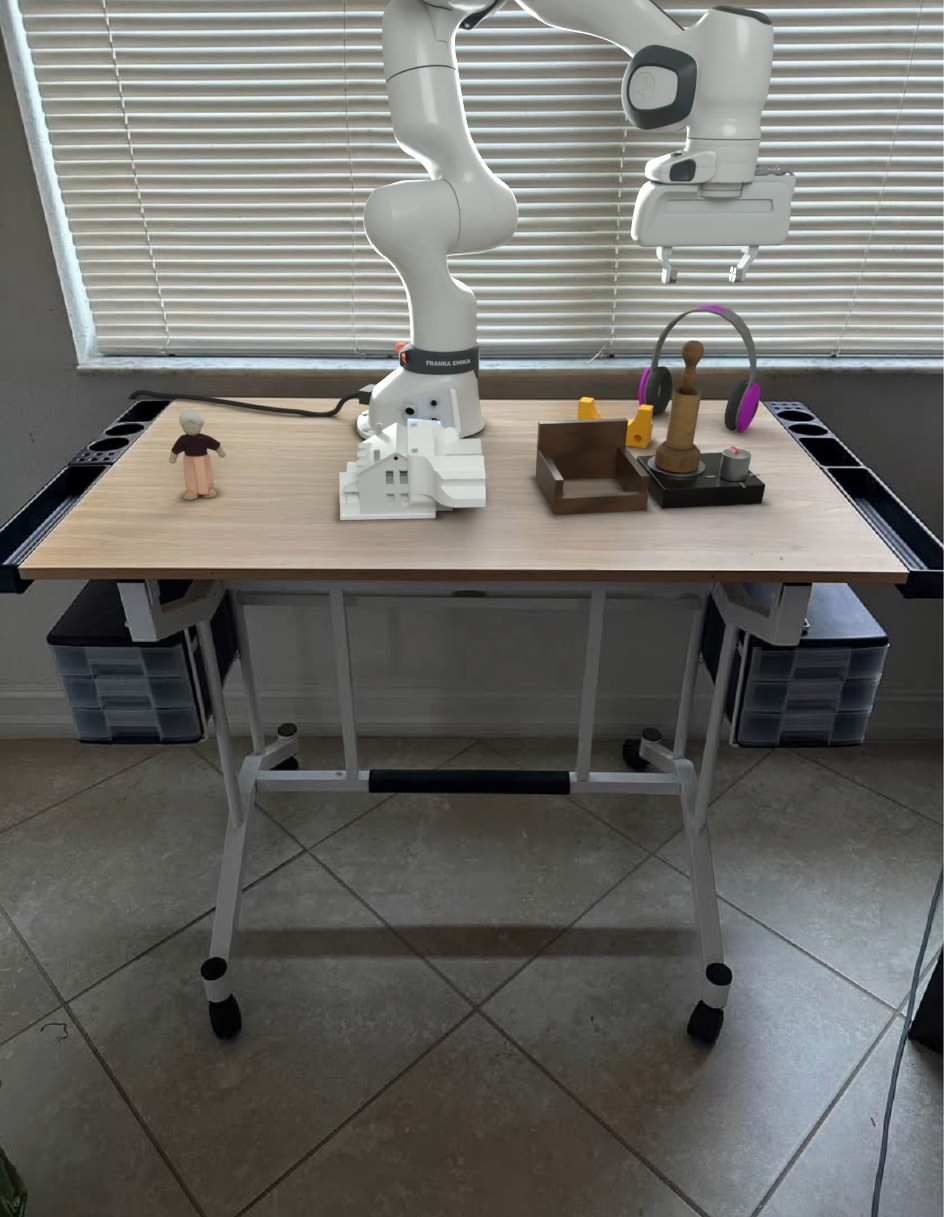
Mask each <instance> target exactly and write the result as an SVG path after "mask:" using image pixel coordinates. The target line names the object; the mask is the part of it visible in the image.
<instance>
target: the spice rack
mask: <svg viewBox="0 0 944 1217" xmlns="http://www.w3.org/2000/svg"><path fill="white" fill-rule="evenodd" d="M628 421H629V419H627V418H626V417H622V418H602V419H590V420H577V419H568V420H567V419H566V420H538V422H537V442H536V443H537V444H536V460H535V461H536V462H535V480H536V481H537V484H538V485H539V487H540V489H541V491H542V493H543V495H544V497H545V499H546V501H547V503H548V505H549V507H550V509H551V511H552V513H553V515H554V516H561V515H562V516H563V515H580V514H581V515H582V514H583V515H584V514H599V513H600V514H601V513H602V514H603V513H619V512H620V513H623V512H641V511H642V512H643V511H648V503H649V494H650V493H649V492H648V483H649V475H648V474H647V473H646V471H645V470H644V469H643V468H642V466H641V465H640V464H639V463H638V461H637V458H636V457H635V456H634V455H633V454H632V453H631V451H630V450H629V448H627V445H626V437H627V428H628ZM609 478H611V479H613V478H615V480H616V481H617V482H618V484H619V486H621V488H622V489H623V491H615V492H596V493H595V492H594V493H593V492H592V493H574V494H564V483H565V480H567V481H569V480H585V479H586V480H587V479H609Z"/></svg>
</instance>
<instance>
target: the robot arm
mask: <svg viewBox="0 0 944 1217" xmlns="http://www.w3.org/2000/svg"><path fill="white" fill-rule="evenodd" d="M514 1H515V2H516V3H517V4H518V5H519V6H520V7H521V8H522V9H523V10H524V11H526V12H527V13H528V14H529V15H531V16H532V17H534V18H536V19H537V20H538V21H540V22H542V23H543V24H545V25H547V26H550V27H553V28H555V29H559V30H566V31H570V32H575V33H581V34H585V35H590V36H593V37H597V38H600V39H603V40H606V41H608V42H610V43H612V44H614V45H616V46H617V47H619V48H620V49H622V50H623V51H624V52H626V53H627V54H628V56H630V57H631V60H630V61H629V63H628V64H627V66H626V69H625V71H624V74H623V78H622V80H621V81H622V82H621V83H622V84H621V89H620V94H621V95H620V96H621V104H622V109H623V112H624V114H625V116H626V118H627V119H628V122H630V124H632V126H634V127H635V128H637V129H640V130H642V131H646V132H650V133H669V134H671V133H686V139H685V140H686V141H685V147H684V148H681V149H679V150H676V151H673V152H671V153H670V152H669V153H667V154H665V155H662V156H659V157H656V158H654V159H653V158H652V159H651V160H649V161H648V162H647V163H646V164H645V169H644V170H645V171H644V174H645V175H644V176H645V178H647V180H649V181H647V182H646V183H644V184H643V185H642V186H641V188H640V190H639V192H638V194H637V197H636V201H635V205H634V210H633V216H632V217H633V218H632V221H631V230H630V236H631V238H632V240H633V242H634V243H635V244H636V245H638V246H639V247H642V248H656V252H655V253H656V257H657V259H658V261H659V264H660V266H661V268H662V272H661V283H663V284H665V285H670V284H671V285H672V284H676V283H677V276H678V272H679V270H678V268H676V267H672V265H671V263H670V260H669V257H671V256H672V255H673V249H674V248H682V247H683V248H685V247H686V248H687V247H689V248H690V247H697V248H698V247H741V253H742V254H743V256H742V257H741V259H740V260H739V262H738V263H737V265H736V266H731V267H730V270H729V272H730V274H729V277H728V278H729V282H731V283H744V282H745V281H746V277H747V276H746V275H747V269H749V267H750V266H751V265H752V263H753V262H754V261H755V260H756V258H757V257H758V253H759V250H760V249H759V248H760V247H770V246H772V247H773V246H775V247H776V246H777V247H778V246H781V245H782V244H783V243H784V242H785V241H786V239H788V236H789V231H790V224H791V215H792V214H791V213H792V198H793V196H794V194H795V189H796V183H797V178H796V175H795V173H794V172H793V171H792V169H789V167H788V165H783V164H782V165H781V164H780V165H767V164H762V165H761V164H757V163H758V158H759V153H760V152H759V151H760V146H761V145H760V144H761V139H762V128H761V119H762V115H763V114H762V113H763V111H764V107H765V104H766V102H767V100H768V96H769V91H770V85H771V78H772V77H771V76H772V69H773V60H774V49H775V48H774V47H775V46H774V45H775V44H774V43H775V34H774V26H773V22H772V20H771V19H770V18H769V16H767V14H765V13H764V12H760V11H758V10H753V9H747V8H743V7H736V6H731V5H726V4H725V5H715V6H713V7H710V8H709V9H708V10H707V11H706V12H705V13H704V14H703V15H702V16H701V18H700V19H699V20H698V21H696V22H695V23H694V24H692V25H691V26H690V27H687V28H686V29H685V28H684V27H683V26H682V25H681V24H679V23H678V22H677V21H676V20H675V19H674V18H672V16H671V15H669V14H668V13H667V12H666V11H665V10H664V9H662V7H660V6H659V5H658V4H657V3H656V2H655V1H654V0H514ZM507 2H508V0H390V1H389V2H388V4H387V5H386V7H385V9H384V11H383V14H382V21H381V22H382V23H381V44H382V45H381V46H382V61H383V63H382V64H383V72H384V73H383V74H384V80H385V86H386V93H387V99H388V105H389V113H390V118H391V125H392V131H393V132H392V133H393V136H394V138H395V141H396V143H397V144H398V146H399V148H400V149H401V150H402V151H403V152H405V153H406V154H408V155H409V156H411V157H413V158H415V159H416V160H417V161H419V162H420V163H421V164H422V166H423V167H424V168H425V169H426V171H427V172H428V174H429V176H430V179H417V180H414V179H412V180H400V181H397V182H393V183H390V184H386V185H383V186H380V187H377V188H375V189H373V190H372V191H371V193H370V194H369V196H368V199H367V200H366V203H365V205H364V209H363V228H364V232H365V236H366V238H367V240H368V242H369V244H370V246H371V247H372V249H373V250H374V251H375V252H376V253H377V254H378V255H380V256H381V257H382V258H384V259H385V260H387V262H388V263H389V264H390V265H391V266H392V267H393V268H394V270H395V272H396V273H397V274H398V276H399V278H400V280H401V282H402V285H403V287H404V290H405V293H406V297H407V303H408V310H409V311H408V312H409V326H410V327H409V328H410V342H409V343H407V344H406V343H405V341H397V342H396V344H395V347H394V349H395V353H396V354H397V355H398V356H399V357H398V359H399V360H398V361H399V367H397V368H396V369H395V370H394V371H392V372H391V373H390V374H389V375H387V376H386V377H385V378H383V379H382V380H381V381H380V382H378V383H377V384H373V383H370V384H368V385H366V386H363V387H362V388H360V389H359V390H358V391H356V392H352V393H349V394H346V395H345V396H343V397H341V398H340V400H339V401H338V402H337V404H336V406H335V407H334V408H333V409H331V410H329V411H323V412H321V411H312V410H307V409H306V410H305V409H299V408H287V407H278V406H277V407H276V406H270V405H269V406H268V405H261V404H255V403H248V402H243V401H237V400H231V399H224V398H218V397H212V396H211V397H210V396H202V395H194V394H181V393H167V392H166V393H165V392H157V391H153V390H147V389H138V390H135V391H134V392H132V393H131V394H130V395H129V396H128V398H127V400H134V399H136V398H137V397H139V396H147V397H153V398H158V399H170V400H171V399H172V400H173V399H174V400H186V401H195V402H196V401H197V402H205V403H213V404H217V405H218V404H219V405H225V406H232V407H236V408H237V407H238V408H244V409H249V410H257V411H263V412H271V413H279V414H289V415H299V416H306V417H312V418H313V417H315V418H316V417H317V418H325V417H326V418H328V417H333V416H335V415H337V414H339V412H340V411H342V408H343V406H344V404H345V403H347V402H348V401H350V400H353V399H358V404H359V405H364V406H368V410H365V411H363V412H362V413H360V414H359V415H358V417H357V420H356V431H357V433H358V435H359V436H360V437H361V438H363V439H364V440H367V439H369V438H370V437H372V436H374V435H376V423H382V430H384V429H386V428H388V427H389V426H391V425H393V424H394V423H396V422H397V423H399V424H401V425H403V426H404V427H406V428H407V420H432V421H433V420H435V421H436V422H438V423H439V424H440V425H441V426H442V427H443V428H444V429H445V428H448V427H452V428H455V429H457V430H458V434H459V439H464V438H466V437H469V436H472V435H475V434H478V433H479V432H481V431H482V430H483V429H484V428H485V426H486V423H485V419H484V416H483V412H482V406H481V402H480V395H479V394H480V393H479V383H478V378H479V375H480V374H479V373H480V366H481V364H480V363H481V361H480V360H481V359H480V358H481V357H480V356H481V355H480V354H481V353H480V345H479V344H478V342H477V340H478V339H477V335H478V334H477V332H478V329H477V327H478V324H477V322H478V320H477V319H478V301H477V298H476V296H475V294H474V292H473V291H472V290H471V288H470V287H469V286H467V285H466V284H465V283H463V282H462V281H460V280H457V279H456V278H454V277H452V276H451V273H450V270H449V265H448V257H449V256H462V255H472V254H482V253H483V254H484V253H486V252H489V251H492V250H495V249H498V248H500V247H503V246H505V245H507V244H508V243H509V242H510V241H511V240H512V238H513V236H514V235H515V232H516V230H517V227H518V222H519V208H518V203H517V199H516V197H515V195H514V192H513V191H512V189H511V188H510V187H509V185H507V184H506V183H505V182H504V181H502V180H501V179H500V178H498V177H497V176H496V175H495V174H494V173H493V172H492V171H491V169H490V168H489V167H488V166H487V164H486V163H485V161H484V160H483V158H482V157H481V155H480V153H479V151H478V149H477V147H476V145H475V143H474V141H473V138H472V136H471V133H470V129H469V126H468V122H467V117H466V113H465V107H464V102H463V96H462V90H461V82H460V76H459V69H458V61H457V55H456V46H455V40H456V34H457V32H458V29H459V28H460V29H462V30H464V31H465V30H466V31H471V30H473V29H475V28H476V27H477V26H478V25H479V24H480V23H481V22H482V21H483V20H485V19H487V18H489V17H491V16H493V15H494V14H497V12H499V11H500V10H501V9H502V8H503V7H504V5H506V3H507Z"/></svg>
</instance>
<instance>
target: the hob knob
mask: <svg viewBox="0 0 944 1217" xmlns="http://www.w3.org/2000/svg"><path fill="white" fill-rule="evenodd" d="M721 452H722V458H721V464H720V470H719V476H720V477H721V478H723V479H725V480H729V481H743V480H746V479H747V475H748V470H750V464H751V460H752V453H751V452H750V451H748V450H745V449H743V448H736V446H734V445H733V446H730V448H725V449H723V450H722V451H721Z"/></svg>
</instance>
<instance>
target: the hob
mask: <svg viewBox="0 0 944 1217" xmlns="http://www.w3.org/2000/svg"><path fill="white" fill-rule="evenodd" d="M722 452H723V451H721V452H701V455H700V461H701V462H703V463H704V465H705V471H704V472H703V473H702V474H701V475H698V476H694V477H687V478H678V477H670V476H665V475H661V474H658V473H656V472H654V471H652V470H651V469H650V468H649V467H648V460H649V459H650V458H652V457H654V456H655V454H654V455H652V454H651V455H637V456H636V460H637V461H638V463H639V464H640V465H641V466H642V468H643V469H644V470H645V471H646V473H647V474H648V475H649V483H648V490H647V492H648V494H650V495H651V497H652V498H653V499H654V500H655V501H656V503H657V505H658V506H659V507H660V508H661V510H666V509H685V508H705V507H725V506H726V507H727V506H744V505H762V504H763V499H764V494H765V490H766V483H764V482H763V481H762V480H761V479H760V478H759V477H758V476H761V474H760V473H753V471H751V470H750V469H749V470H748V475H747V479H746V480H743V481H729V480H725V479H723V478H721V477H720V476H719V470H720V464H721V458H722Z"/></svg>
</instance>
